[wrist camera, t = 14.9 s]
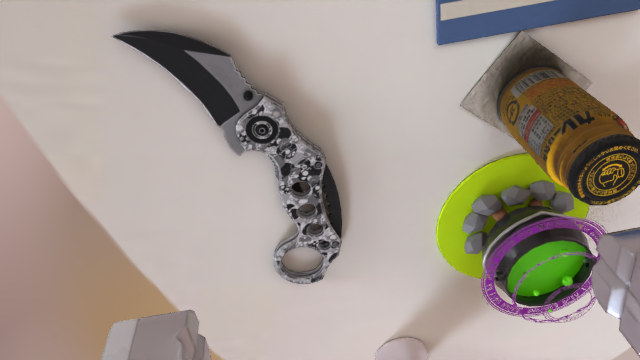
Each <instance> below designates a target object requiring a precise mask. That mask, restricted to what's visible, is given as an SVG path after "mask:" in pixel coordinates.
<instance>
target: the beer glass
mask: <svg viewBox="0 0 640 360" xmlns="http://www.w3.org/2000/svg"><path fill="white" fill-rule="evenodd" d="M375 360H428V352H427V348H426V346H425V345H424V343H422V342H421V341H420V340H417V339H414V338H407V337H405V338H398V339H394V340H391V341H389V342H387V343H386V344H384V345H383V346H382V347H381V348H380V349H379V350H378V351H377V353H376V356H375Z"/></svg>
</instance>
